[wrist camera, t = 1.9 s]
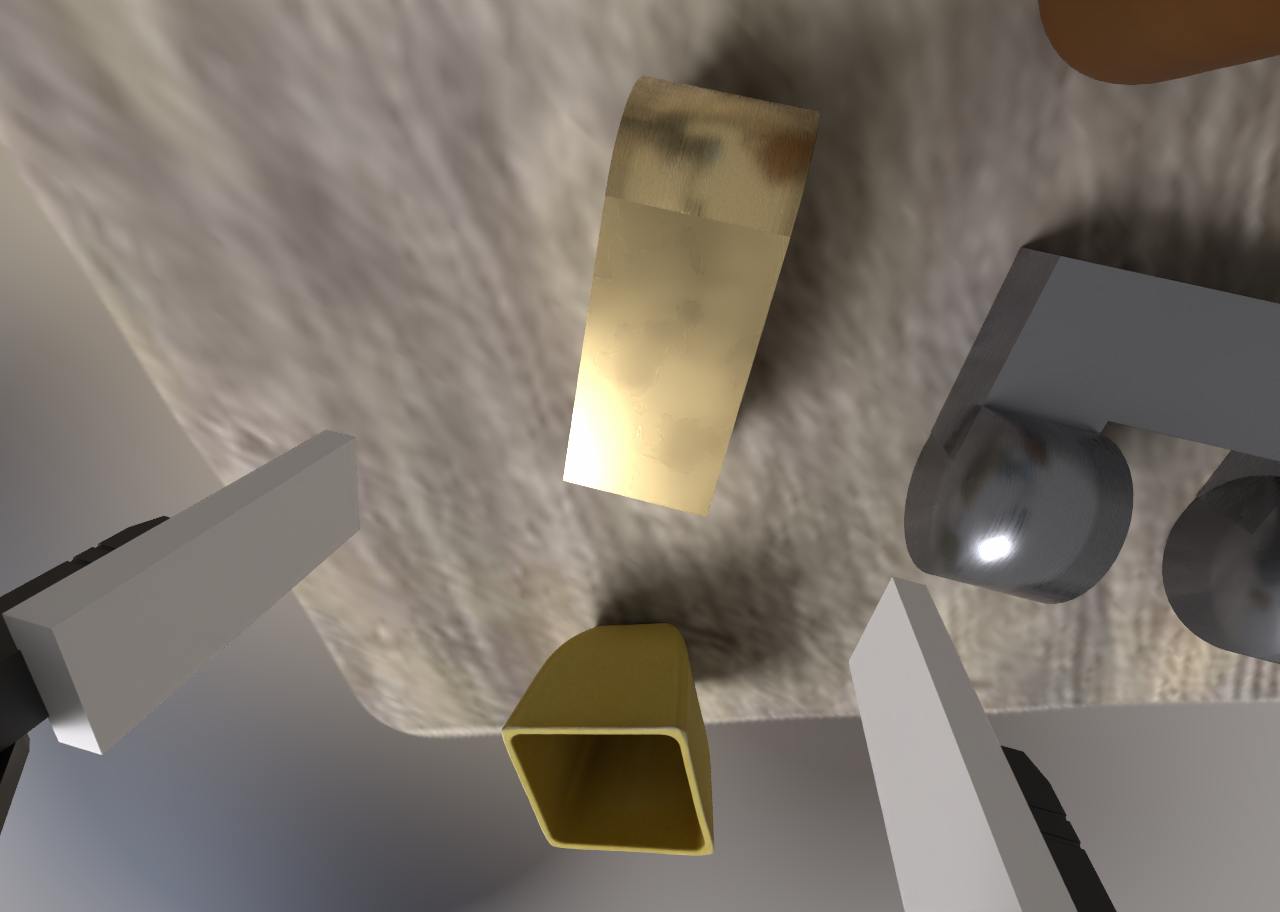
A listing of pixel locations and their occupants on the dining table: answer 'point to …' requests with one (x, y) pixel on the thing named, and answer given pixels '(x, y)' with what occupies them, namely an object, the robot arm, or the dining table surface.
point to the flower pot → (616, 744)
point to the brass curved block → (683, 286)
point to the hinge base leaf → (1108, 445)
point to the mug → (1160, 36)
